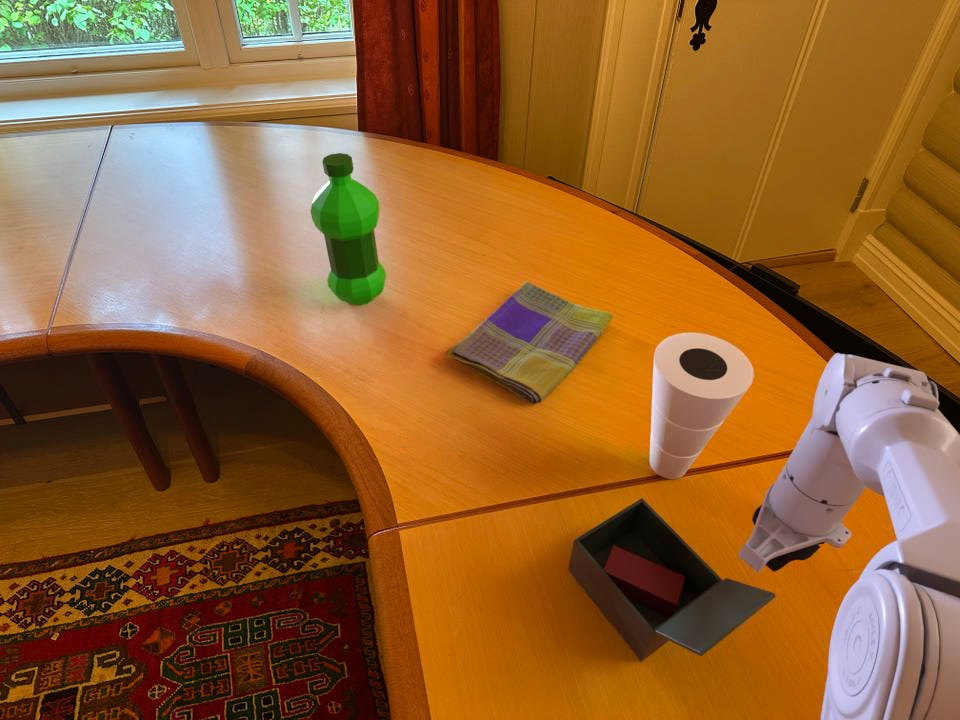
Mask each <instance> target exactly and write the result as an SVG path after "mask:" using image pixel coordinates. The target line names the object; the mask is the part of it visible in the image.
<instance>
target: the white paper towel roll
mask: <svg viewBox="0 0 960 720" xmlns="http://www.w3.org/2000/svg"><path fill="white" fill-rule="evenodd" d="M754 376H755V373H754V368H753V365H752V363H751V361H750V360H749V358H748V356H746V354H745V353H744V352H742V350H740V349H739V347H737V346H735V345H733V344H732V343H731V342H729V341H727V340H724V339H722V338H720V337H718V336H714V335H711V334H706V333H702V332H701V333H700V332H681V333H675V334H673V335H670V336H668V337H666V338H664V339H662V341H660V342H659V343H658V344H657V346H656V348H655V350H654V352H653V368H652V389H651V390H652V395H651V420H650V437H649V438H650V441H649V460H648V461H649V465H650V468H651V470H652V471H653V472H654V473H655V474H656V475H658V476H659V477H661V478H664V479H669V480H676V479H677V480H678V479H680V478H682V477H683V476H685V474H686V473H687V472H688V471H689V469H690V468H691V466H692V465H693V464H694V462H695V461H696V460H697V459H698V457H699V456H700V454H701V453H702V451H703V450H704V448H705V447H706V446H707V444H708V443H709V442H710V440H711V439H712V438H713V437H714V435H715V434H716V432H717V431H718V430H719V429H720V427H721V426H722V424H723V423H724V422H725V420H726V419H727V418H728V417H729V415H730V414H731V413H732V411H733V410H734V408H735V407H736V406H737V405H738V404H739V402H740V401H741V399H742V397H743V396H744V395H745V394H746V393H747V391H748V389H750V387H751V386H752V383H753V382H754Z"/></svg>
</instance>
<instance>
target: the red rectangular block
mask: <svg viewBox="0 0 960 720" xmlns="http://www.w3.org/2000/svg"><path fill="white" fill-rule="evenodd" d="M603 570H604V571H605V573H606V574H607V575H608V576H609V577H610V578H611V580H612V581H613V582H614V583H615V584H616V586H617V587H618V588H619V589H620V590H621V592H622V593H623V594H624V595H625V596H626V597H627V598H630V599H632V600H634V601H636V602H638V603H640V604H642V605H645V606H647V607H649V608H651V609H653V610H655V611H657V612H660V613H662V614H664V615H666V616H668V617H671V616H672V615H673V613H674V611H675V609H676V607H677V605H678V601H679V598H680V594H681V591H682V588H683V584H684V581H685V576H682V575H680V574H678V573H676V572H673V571H671V570H669V569H667V568H664V567H662V566H660V565H657V564H655V563H653V562H651V561H648V560H646V559H644V558H642V557H639V556H637V555H635V554H632V553H630V552H628V551H626V550H623V549H621V548H619V547H617V546H614V545H613V547H612V549H611V552H610V554H609V557H608V559H607V562H606V564H605V567H604V569H603Z"/></svg>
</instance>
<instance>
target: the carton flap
mask: <svg viewBox="0 0 960 720" xmlns="http://www.w3.org/2000/svg"><path fill="white" fill-rule="evenodd" d="M722 580H723V581H722V582H720V583H719V584H718V585H716V586H715V587H713V588H712V589H711V590H709V591H708V592H707V593H705V594H704V595H703V596H701V597H700V598H699V599H697V600H696V601H695V602H693V603H692V604H691V605H689V606H688V607H687V608H685V609H684V610H683V611H681V612H680V613H678V614H677V615H676V616H674V617H673V618H672V619H670V620H669V621H668V622H666V623H665V624H664V625H662V626H661V627H660V628H658V629H657V630H656V634H657V635H659V636H661V637H663V638H665V639H667V640H669V641H668V642H670V643H671V642H672V643H673V644H675V645H678V646H679V647H681V648H683V649H684V650H687V651H689V652H691V653H693V654H696V656H699V657H703V656H704V655H705V654H706V653H707V652H709V651H710V650H711V649H713V648H714V647H715V646H716V645H718V644H719V643H720V642H721V641H723V640H724V639H725V638H726V637H727V636H729V635H730V634H732V633H733V632H734V631H735V630H736V629H738V628H739V627H741V625H743V624H744V623H745V622H746V621H748V620H749V619H750V618H752V617H753V616H754V615H755V614H756V613H758V612H759V611H760V610H761V609H763V608H764V607H765V606H766V605H768V604H769V603H770V602H772V601H773V600H774V599H776V597H777V596H776V593H775V592H772V591H770V590H766V589H762V588H759V587H756V586H753V585H750V584H746V583H744V582H740V581H737V580H734V579H731V578H728V577H726V578H724V579H722Z"/></svg>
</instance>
